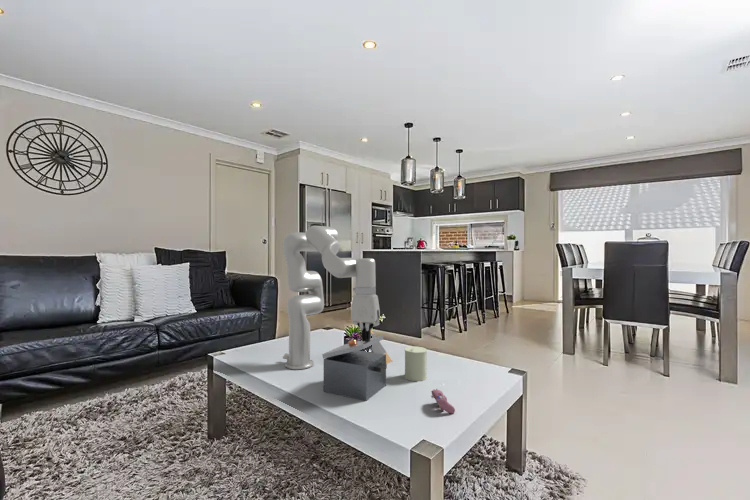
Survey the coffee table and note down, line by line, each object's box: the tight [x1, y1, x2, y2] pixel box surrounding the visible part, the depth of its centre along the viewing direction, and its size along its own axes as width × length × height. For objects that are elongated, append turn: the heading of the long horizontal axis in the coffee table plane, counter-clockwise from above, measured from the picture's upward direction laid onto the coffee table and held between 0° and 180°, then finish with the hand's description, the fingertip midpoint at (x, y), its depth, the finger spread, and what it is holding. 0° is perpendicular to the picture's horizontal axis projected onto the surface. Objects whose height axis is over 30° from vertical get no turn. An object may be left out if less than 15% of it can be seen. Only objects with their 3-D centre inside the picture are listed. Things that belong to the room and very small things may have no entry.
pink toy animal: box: [430, 388, 456, 415], centre depth 120 cm, size 10×5×7 cm, turn 7°
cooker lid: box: [321, 335, 384, 359], centre depth 137 cm, size 18×16×3 cm
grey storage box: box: [322, 350, 388, 402], centre depth 136 cm, size 21×16×12 cm
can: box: [403, 346, 428, 382], centre depth 149 cm, size 9×9×12 cm
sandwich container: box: [372, 330, 393, 365], centre depth 172 cm, size 9×15×15 cm, turn 50°
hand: (366, 340), depth 134 cm, fingers closed
